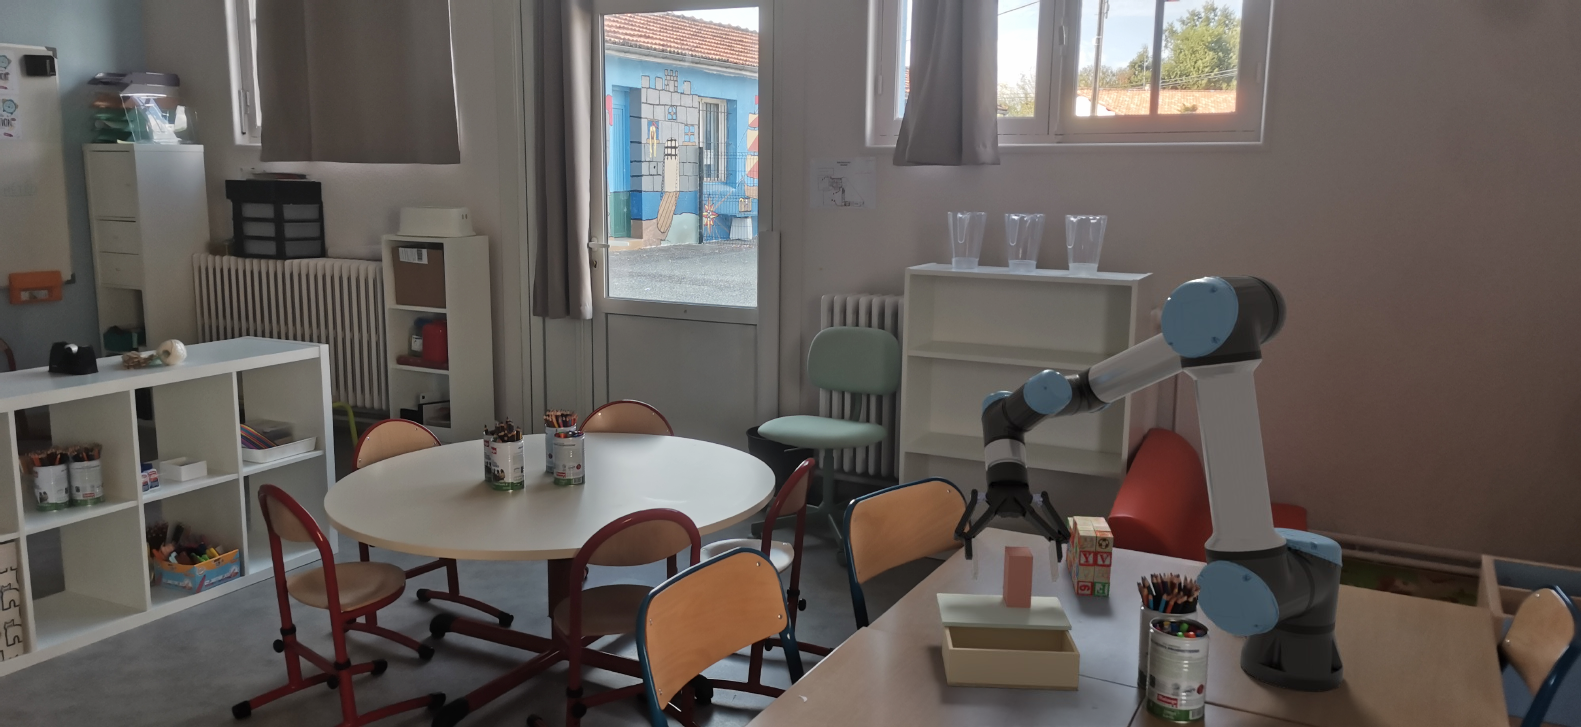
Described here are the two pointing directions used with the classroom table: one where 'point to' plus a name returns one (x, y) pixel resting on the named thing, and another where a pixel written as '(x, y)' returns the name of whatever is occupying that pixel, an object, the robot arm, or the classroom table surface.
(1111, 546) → the stack of blocks
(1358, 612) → the classroom table surface
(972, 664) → the carton
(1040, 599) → the lid
